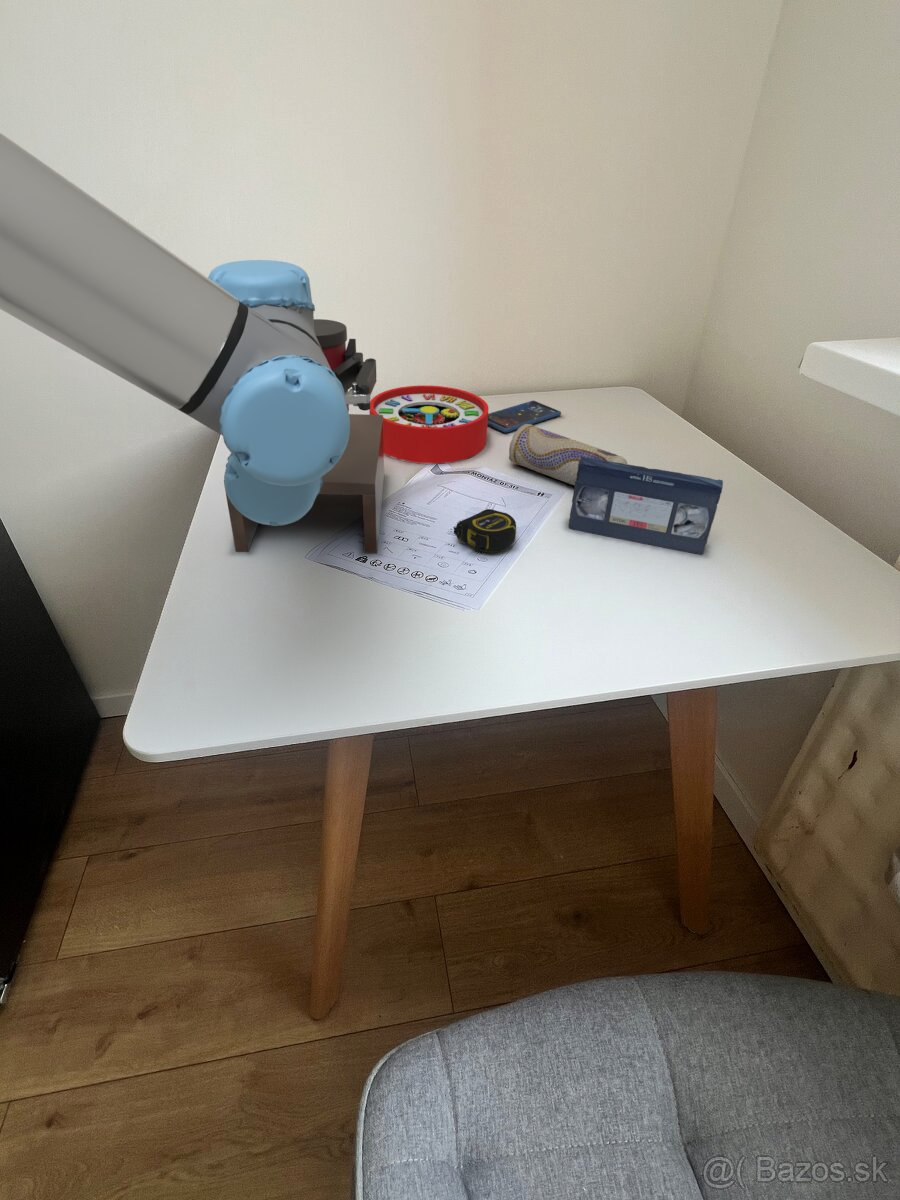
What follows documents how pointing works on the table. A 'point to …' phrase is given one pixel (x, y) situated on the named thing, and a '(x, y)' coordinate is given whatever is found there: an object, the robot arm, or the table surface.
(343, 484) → the shelf
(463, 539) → the tape measure
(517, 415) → the smartphone
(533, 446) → the decorative bottle
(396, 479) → the table surface
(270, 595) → the table surface
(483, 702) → the table surface
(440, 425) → the toy clock
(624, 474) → the vhs cassette tape
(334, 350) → the canister
